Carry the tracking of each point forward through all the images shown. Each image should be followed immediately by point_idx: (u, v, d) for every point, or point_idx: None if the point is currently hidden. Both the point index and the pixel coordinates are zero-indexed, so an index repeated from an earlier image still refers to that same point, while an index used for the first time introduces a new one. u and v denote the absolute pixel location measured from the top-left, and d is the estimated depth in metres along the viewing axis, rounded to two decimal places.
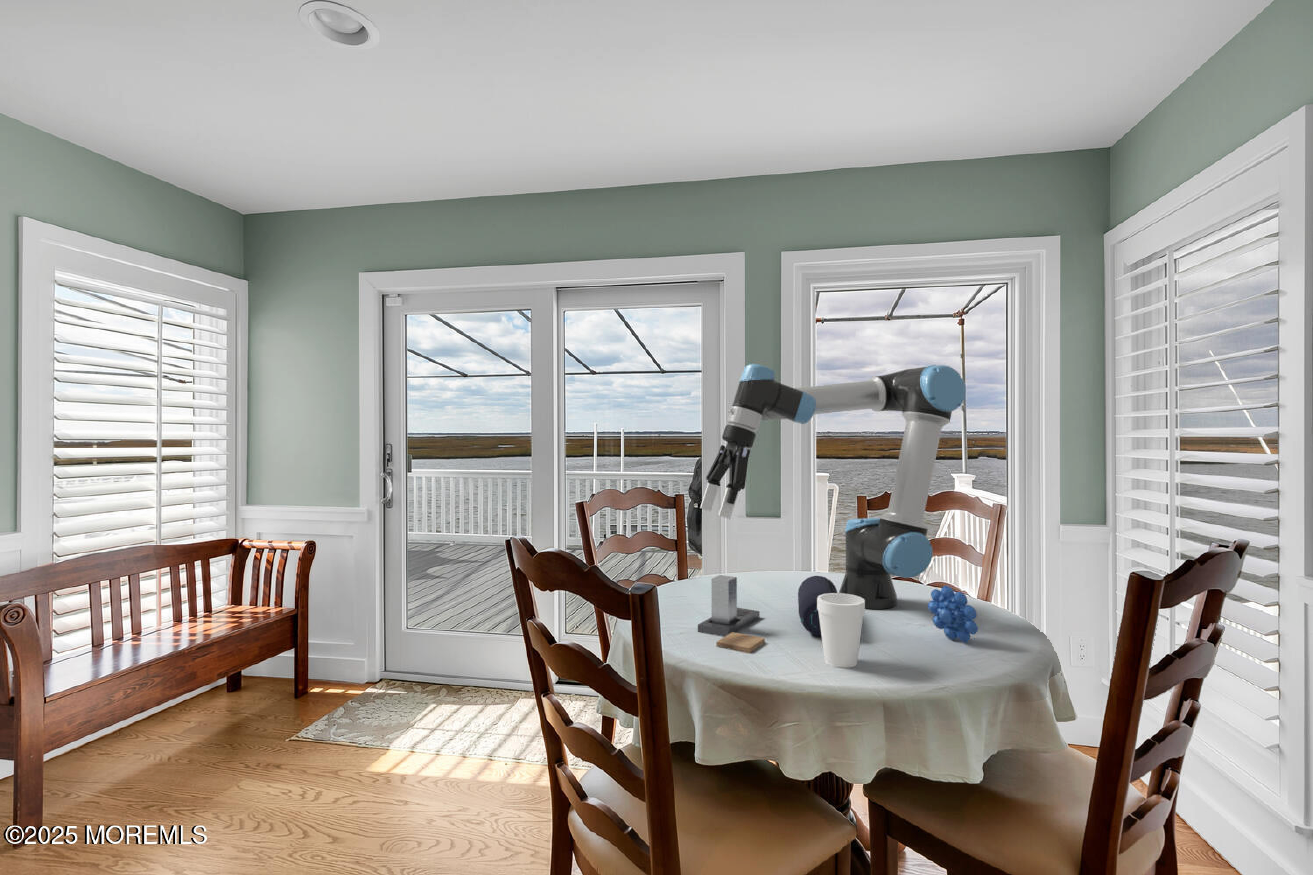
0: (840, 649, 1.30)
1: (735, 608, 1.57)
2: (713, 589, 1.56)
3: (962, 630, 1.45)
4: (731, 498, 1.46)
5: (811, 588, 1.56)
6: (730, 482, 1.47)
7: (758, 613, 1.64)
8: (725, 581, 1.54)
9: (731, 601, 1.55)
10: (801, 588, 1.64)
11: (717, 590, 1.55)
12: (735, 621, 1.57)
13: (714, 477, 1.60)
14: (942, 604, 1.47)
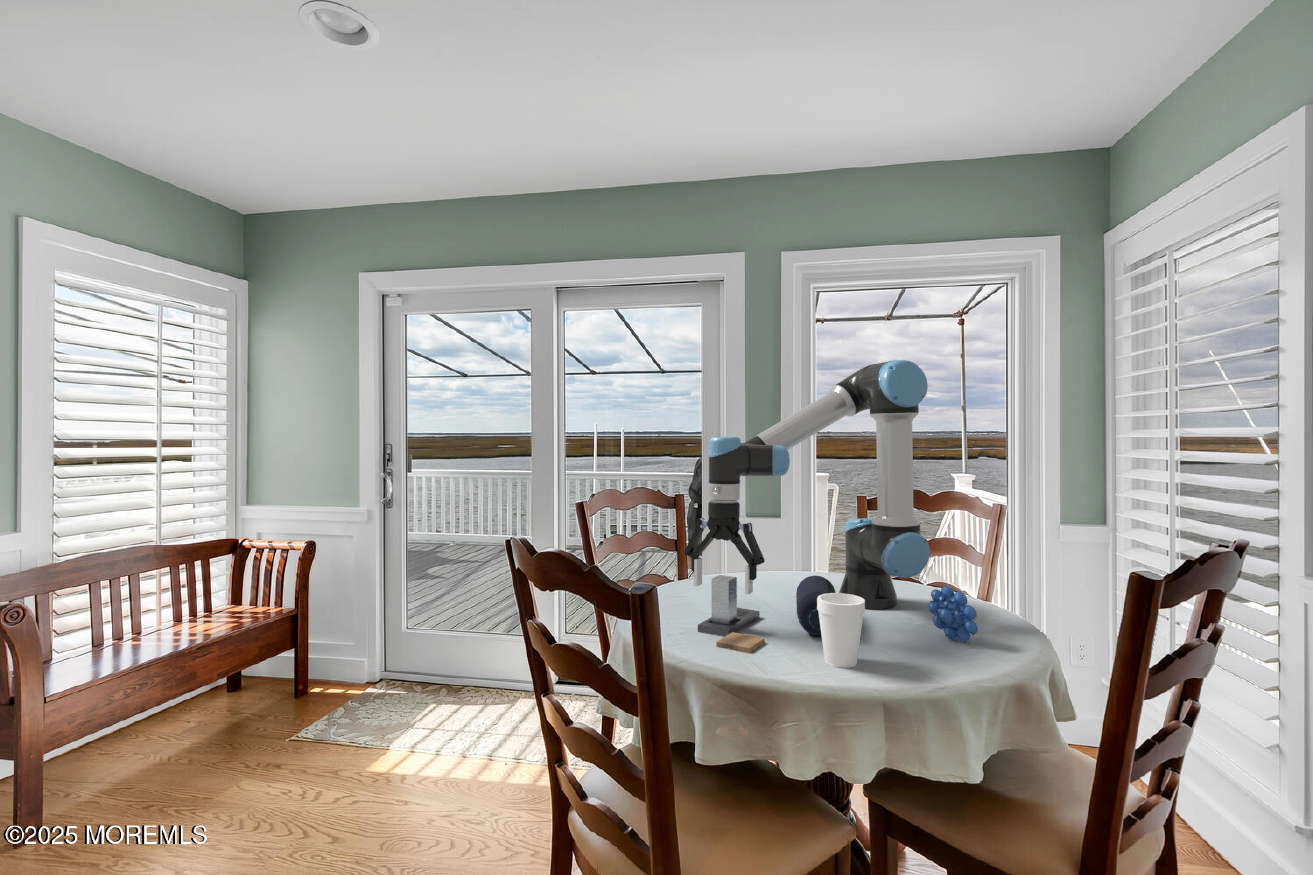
0: (840, 649, 1.30)
1: (735, 608, 1.57)
2: (713, 589, 1.56)
3: (962, 630, 1.45)
4: (754, 574, 1.52)
5: (809, 588, 1.56)
6: (748, 560, 1.52)
7: (758, 613, 1.64)
8: (725, 581, 1.54)
9: (731, 601, 1.55)
10: (799, 588, 1.64)
11: (717, 590, 1.55)
12: (735, 621, 1.57)
13: (700, 552, 1.59)
14: (942, 604, 1.47)
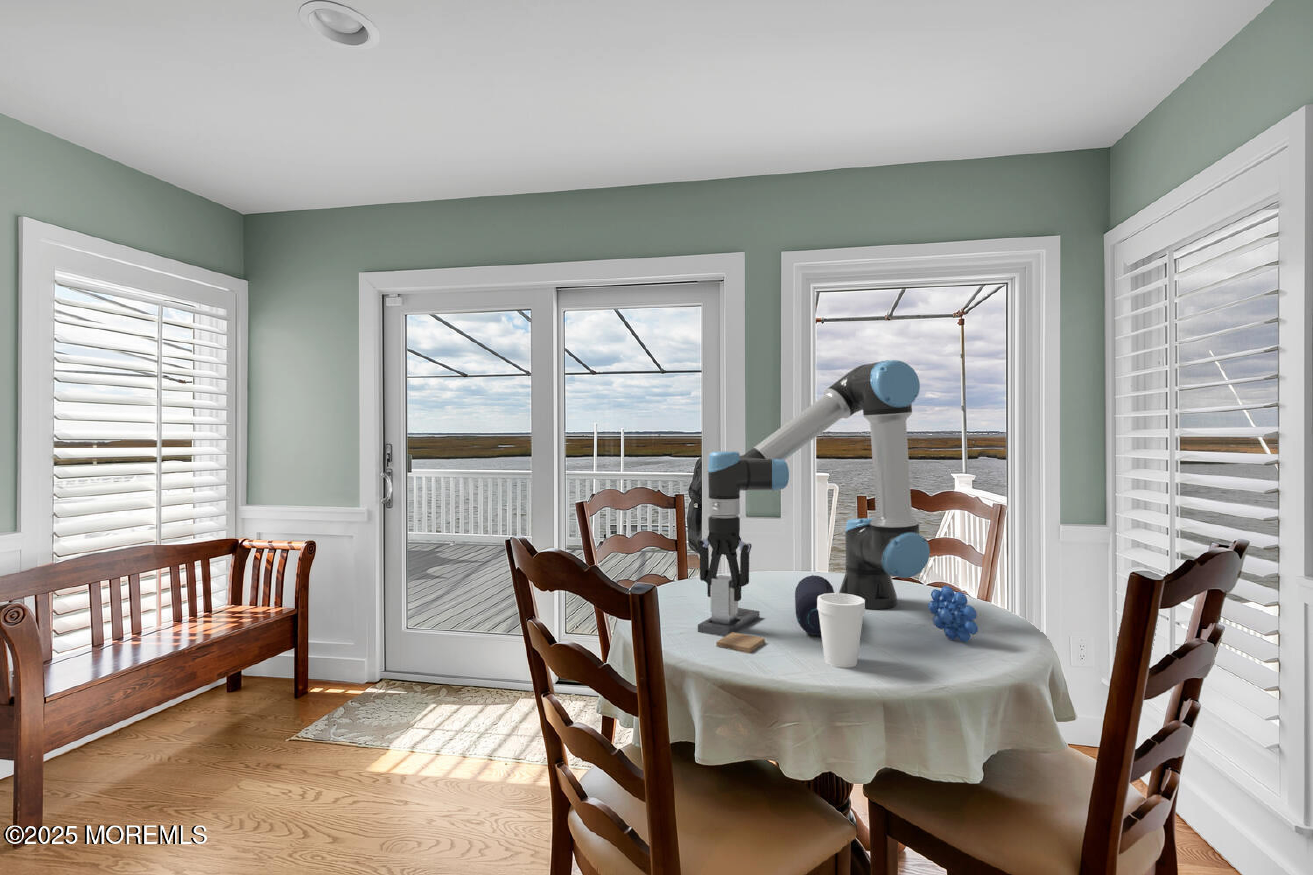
0: (840, 649, 1.30)
1: None
2: (713, 589, 1.56)
3: (962, 630, 1.45)
4: (739, 596, 1.54)
5: (808, 588, 1.57)
6: (734, 581, 1.54)
7: (758, 613, 1.64)
8: (725, 581, 1.54)
9: None
10: (798, 588, 1.64)
11: (717, 590, 1.55)
12: (735, 621, 1.57)
13: (713, 574, 1.57)
14: (942, 604, 1.47)
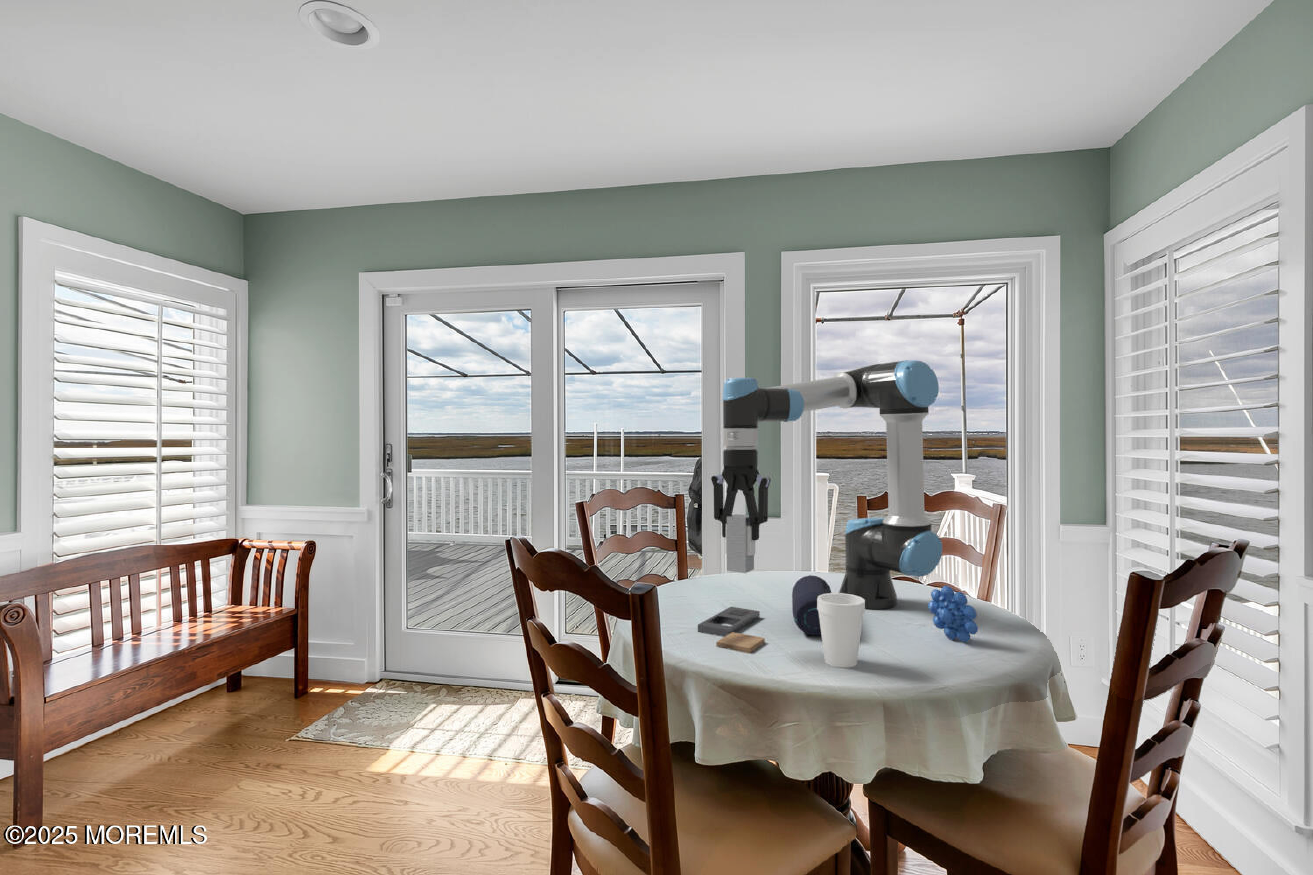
0: (840, 649, 1.30)
1: None
2: (729, 527, 1.43)
3: (962, 630, 1.45)
4: (757, 534, 1.42)
5: (805, 588, 1.57)
6: (752, 518, 1.41)
7: (758, 613, 1.64)
8: (742, 518, 1.42)
9: None
10: (795, 588, 1.64)
11: (733, 529, 1.43)
12: (752, 563, 1.44)
13: (729, 513, 1.45)
14: (942, 604, 1.47)
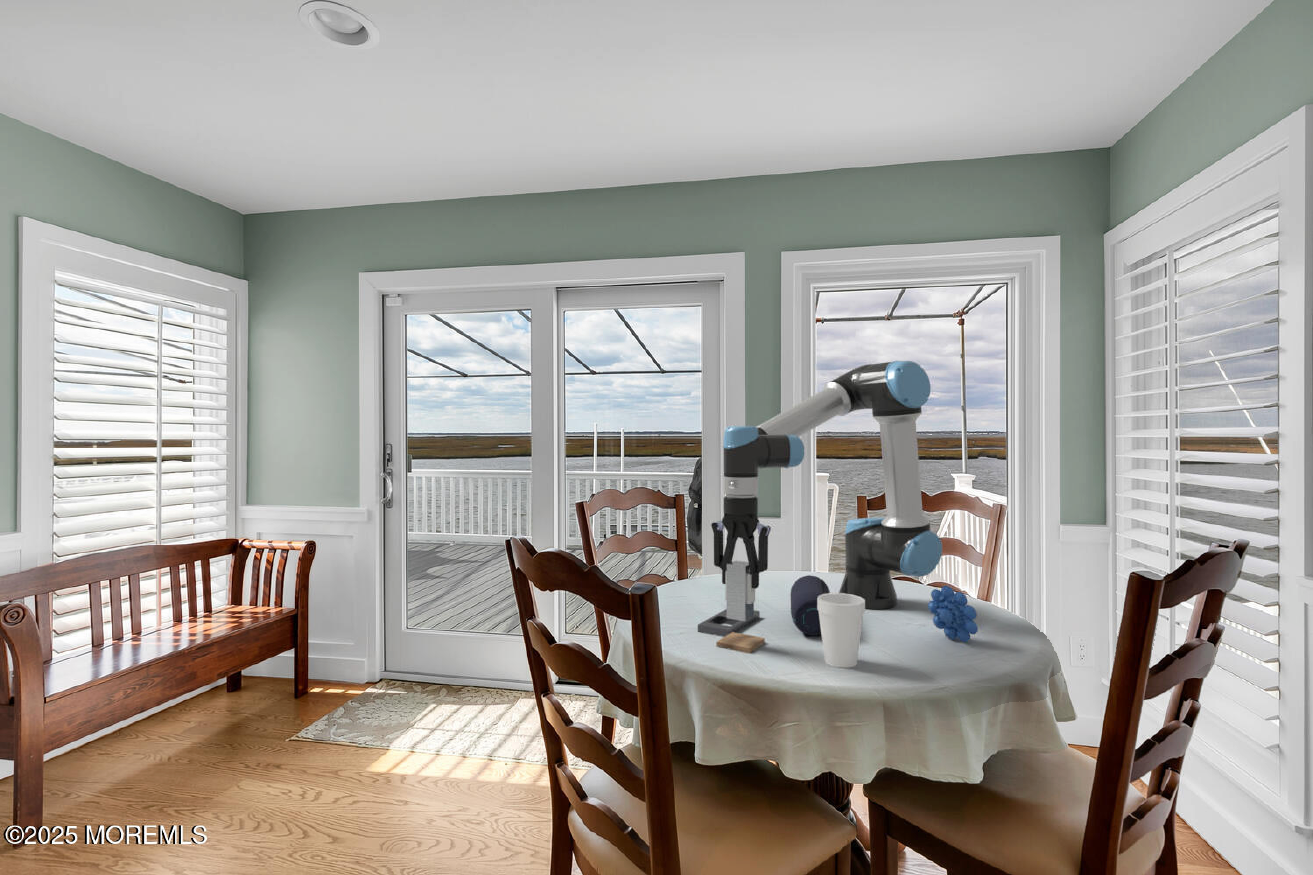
0: (840, 649, 1.30)
1: None
2: (729, 575, 1.43)
3: (962, 630, 1.45)
4: (757, 583, 1.42)
5: (803, 588, 1.57)
6: (752, 567, 1.41)
7: (758, 613, 1.64)
8: (742, 566, 1.42)
9: None
10: (793, 588, 1.65)
11: (733, 577, 1.43)
12: (752, 610, 1.45)
13: (729, 560, 1.45)
14: (942, 604, 1.47)
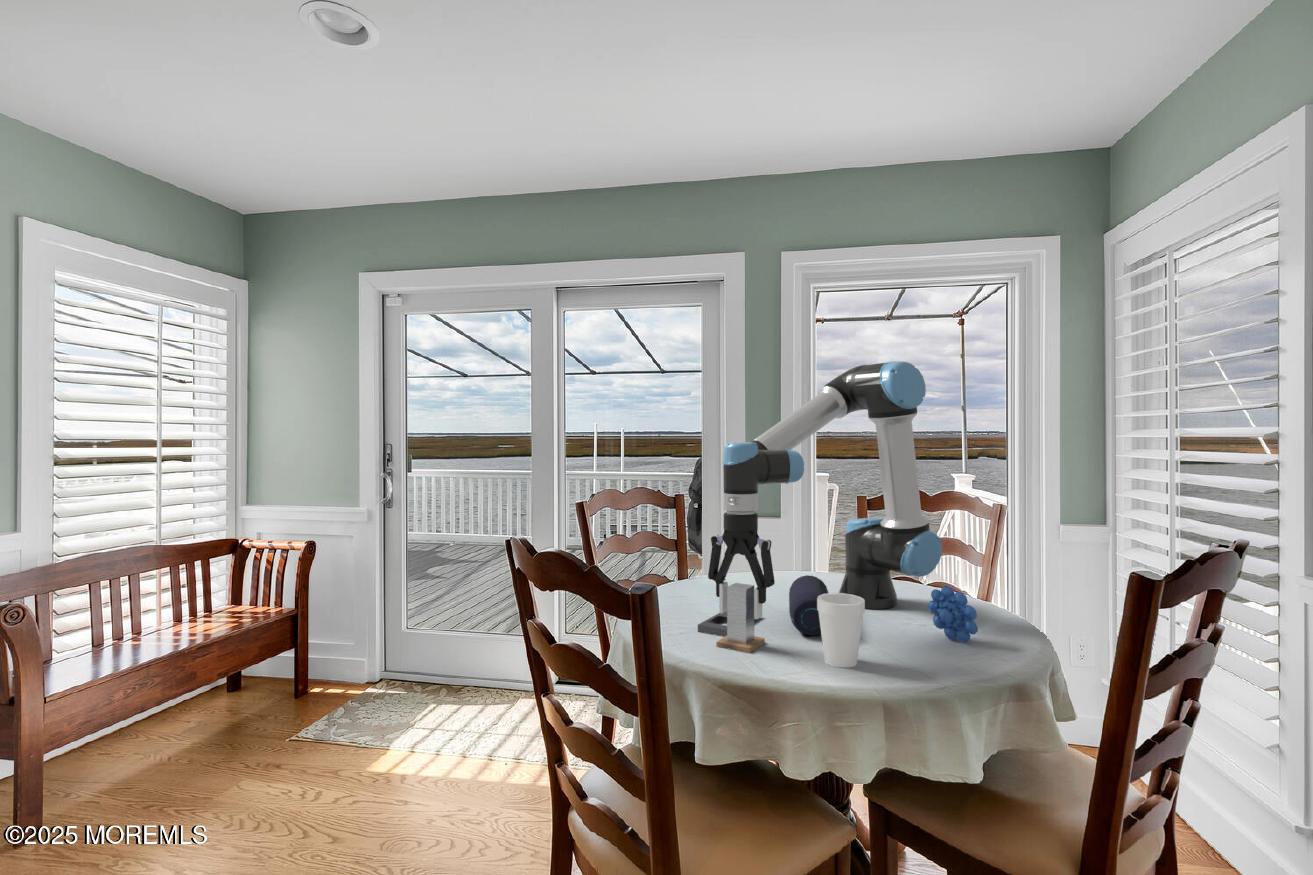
0: (840, 649, 1.30)
1: (753, 619, 1.45)
2: (729, 598, 1.43)
3: (962, 630, 1.45)
4: (764, 598, 1.41)
5: (802, 588, 1.57)
6: (758, 582, 1.41)
7: None
8: (742, 590, 1.42)
9: (749, 611, 1.43)
10: (792, 588, 1.65)
11: (734, 600, 1.43)
12: (753, 633, 1.45)
13: (723, 574, 1.46)
14: (942, 604, 1.47)
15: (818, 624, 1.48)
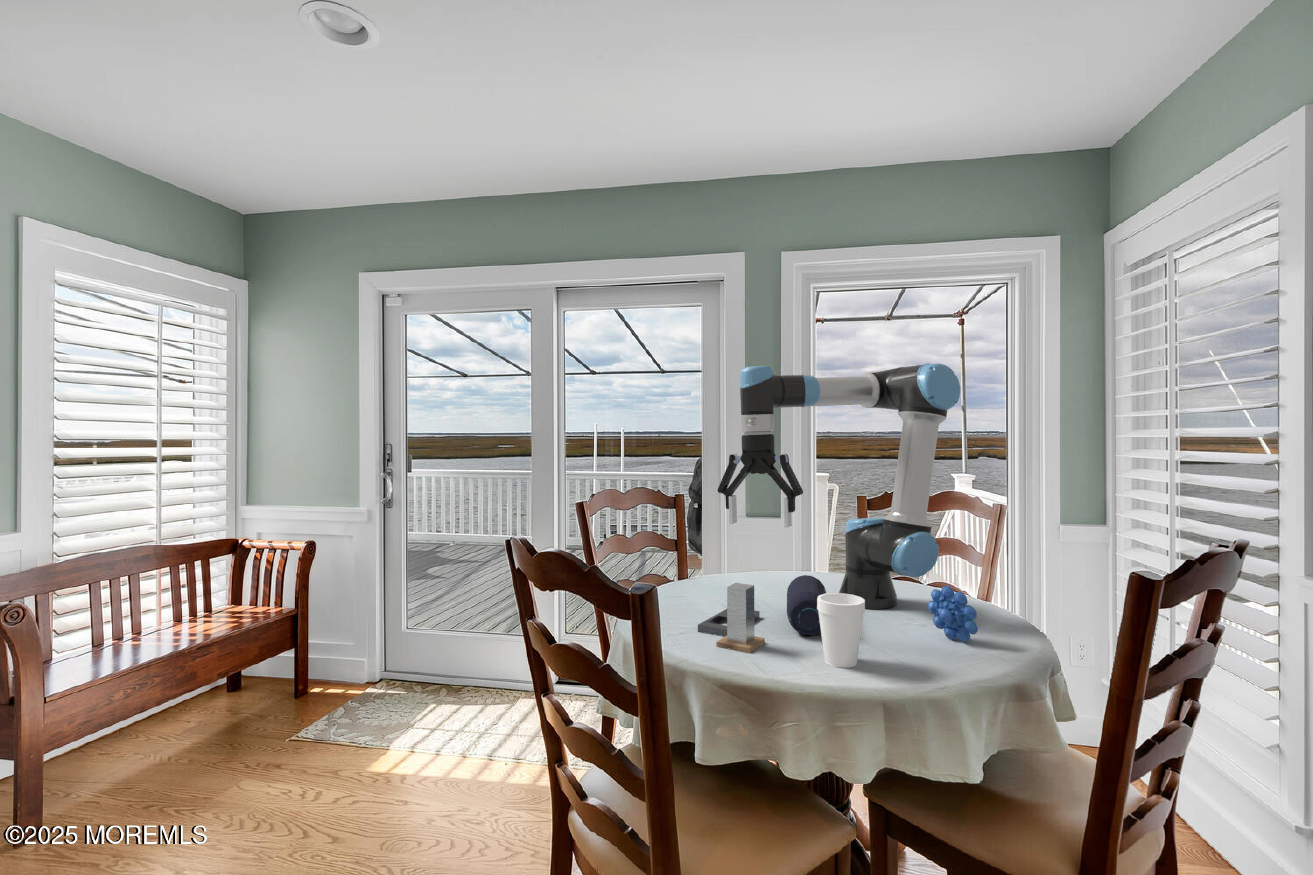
0: (840, 649, 1.30)
1: (753, 619, 1.45)
2: (729, 598, 1.43)
3: (962, 630, 1.45)
4: (793, 506, 1.47)
5: (799, 587, 1.57)
6: (787, 492, 1.47)
7: (758, 613, 1.64)
8: (742, 590, 1.42)
9: (749, 611, 1.43)
10: (790, 588, 1.65)
11: (734, 600, 1.43)
12: (753, 633, 1.45)
13: (734, 488, 1.54)
14: (942, 604, 1.47)
15: (815, 624, 1.48)
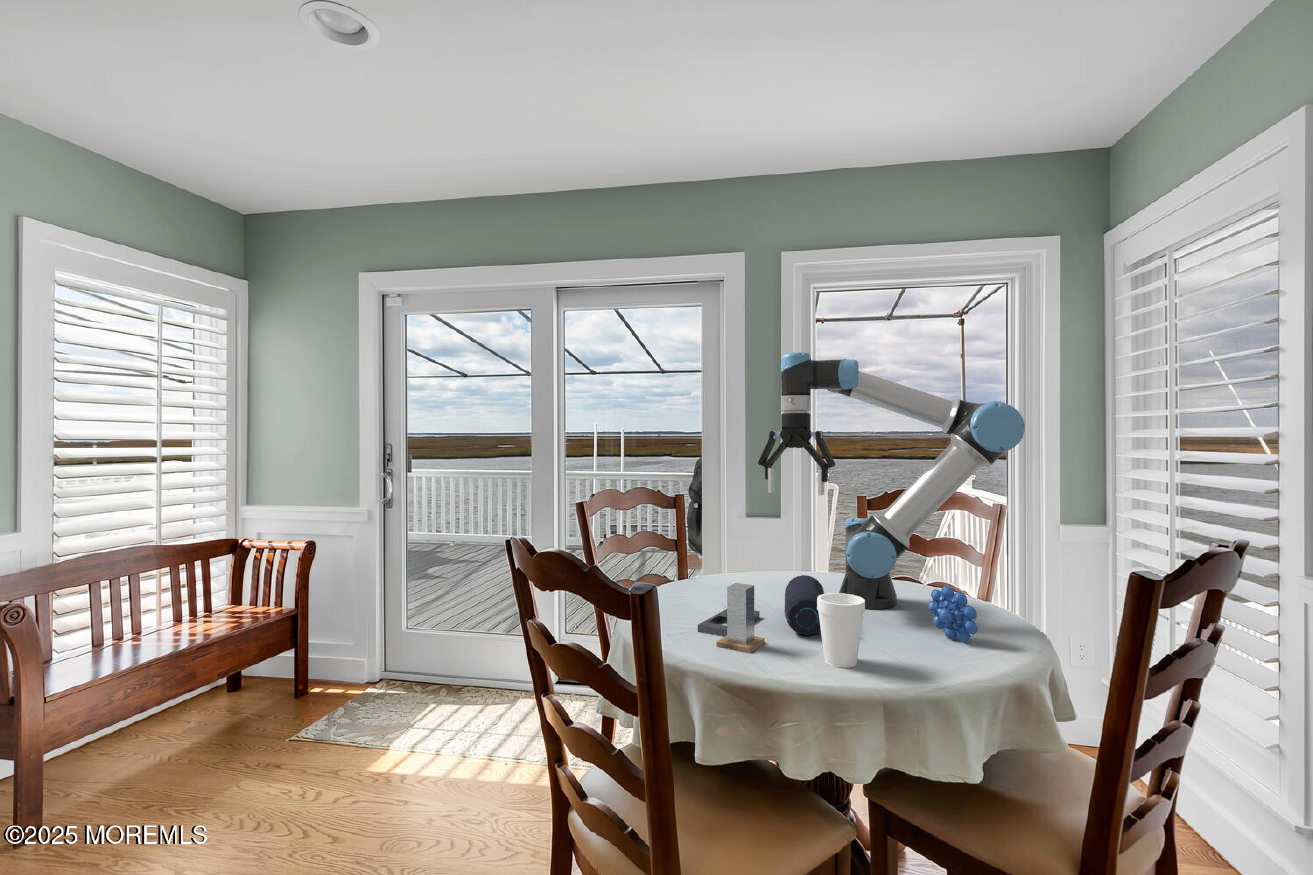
0: (840, 649, 1.30)
1: (753, 619, 1.45)
2: (729, 598, 1.43)
3: (962, 630, 1.45)
4: (826, 477, 1.66)
5: (797, 587, 1.57)
6: (821, 464, 1.66)
7: (758, 613, 1.64)
8: (742, 590, 1.42)
9: (749, 611, 1.43)
10: (788, 587, 1.65)
11: (734, 600, 1.43)
12: (753, 633, 1.45)
13: (773, 461, 1.73)
14: (942, 604, 1.47)
15: (813, 624, 1.48)
